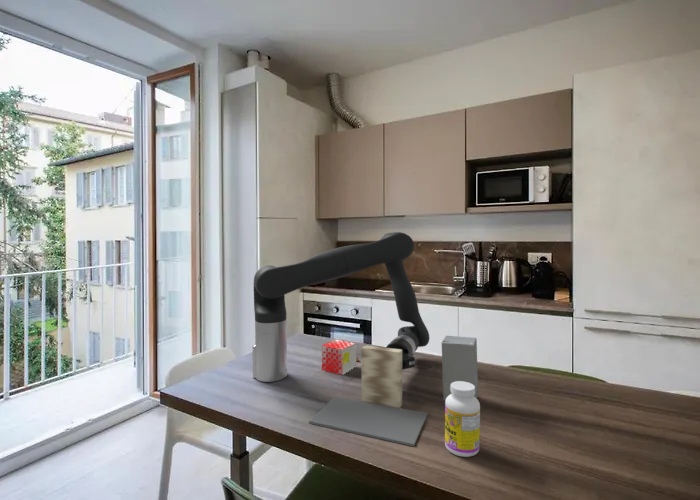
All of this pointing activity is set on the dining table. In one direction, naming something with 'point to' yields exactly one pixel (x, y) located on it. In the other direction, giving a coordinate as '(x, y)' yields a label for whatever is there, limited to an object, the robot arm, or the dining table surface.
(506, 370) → the dining table surface
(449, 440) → the supplement bottle
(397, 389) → the board
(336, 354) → the red white patterned cube
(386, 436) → the mat
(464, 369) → the skincare box
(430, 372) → the dining table surface
